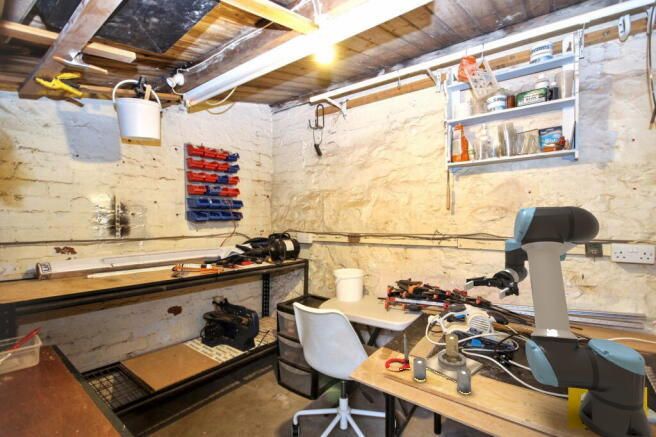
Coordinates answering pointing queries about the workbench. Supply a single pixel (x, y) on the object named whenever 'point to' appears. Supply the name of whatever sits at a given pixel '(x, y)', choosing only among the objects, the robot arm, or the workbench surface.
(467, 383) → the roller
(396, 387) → the workbench surface
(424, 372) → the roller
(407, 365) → the tow hook
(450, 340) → the brass roller
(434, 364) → the bearing housing
